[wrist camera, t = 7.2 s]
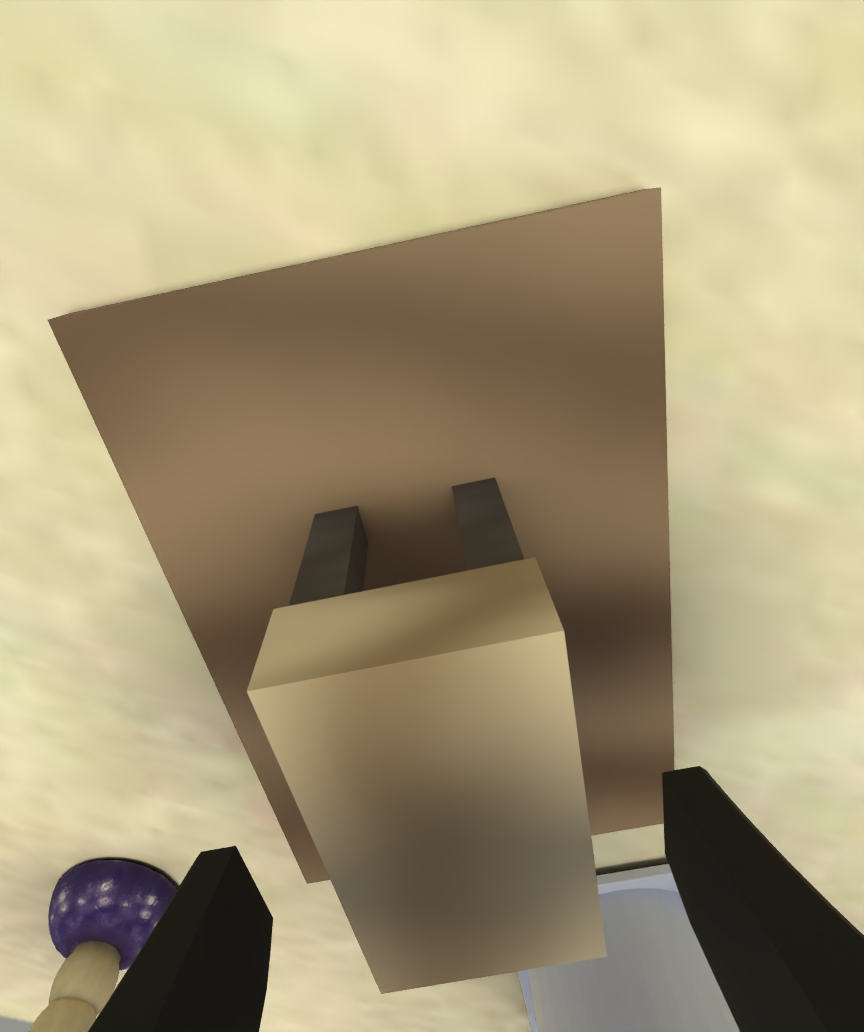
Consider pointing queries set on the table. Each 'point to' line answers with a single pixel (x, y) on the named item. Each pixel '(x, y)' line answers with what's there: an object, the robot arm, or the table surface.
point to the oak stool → (436, 753)
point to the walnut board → (415, 451)
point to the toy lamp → (98, 935)
